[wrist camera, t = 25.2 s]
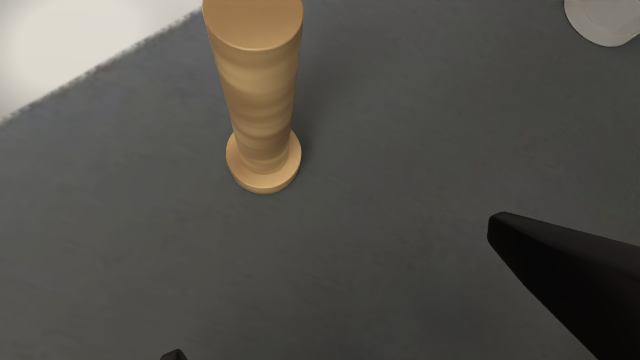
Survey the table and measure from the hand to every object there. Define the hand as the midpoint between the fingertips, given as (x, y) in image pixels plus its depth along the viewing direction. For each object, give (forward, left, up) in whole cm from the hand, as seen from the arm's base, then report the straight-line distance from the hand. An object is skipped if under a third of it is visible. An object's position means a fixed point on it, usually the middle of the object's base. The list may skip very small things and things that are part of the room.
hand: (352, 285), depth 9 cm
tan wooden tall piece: (+7, -4, -12) cm, 14 cm away
